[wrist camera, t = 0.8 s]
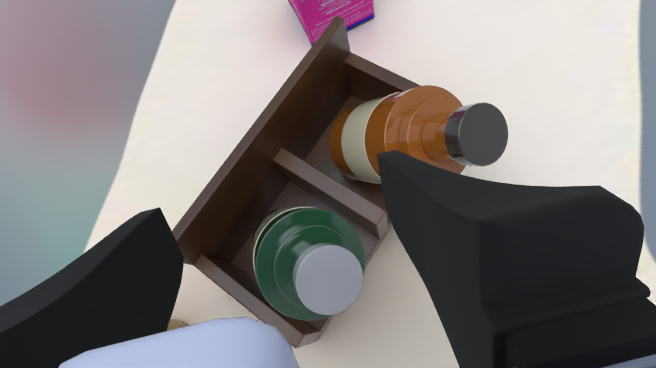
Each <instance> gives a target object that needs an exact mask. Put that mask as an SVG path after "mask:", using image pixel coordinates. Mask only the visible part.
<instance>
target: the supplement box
mask: <svg viewBox="0 0 656 368" xmlns="http://www.w3.org/2000/svg"><path fill="white" fill-rule="evenodd" d="M288 1H289V3H290V5H291V6H292V8H293V9H294V11H295V13H296V15H297V16H298V18H299V20H300V22H301V24H302V26H303V28H304V30H305V32H306V34H307V36H308V38H309V40H310V42H311V44H312V46H313V45H314V44H315V42H316V41H317V40H318V38H319V37H320V36H321V34H322V33H323V32H324V31H325V29H326V28H327V27H328V25H329V24H330V23H331V21H332V20H333V19H334V17H335V16H339V17H341V18H343V19H344V21H345V26H346V31H347V30H349V29H351V28H353V27H355V26H357V25H360V24H362V23H364V22H366V21H368V20H370V19H373V18H374V17H375V16H374V9H373V0H288Z"/></svg>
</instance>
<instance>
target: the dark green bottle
mask: <svg viewBox="0 0 656 368" xmlns="http://www.w3.org/2000/svg"><path fill="white" fill-rule="evenodd" d="M251 257H252V263H253V267H254V272H255V275H256V278H257V282H258V285H259V288H260V290H261V292H262V294H263V296H264V297H265V299H266V300H267V301H268V303H269V304H270V305H271V306H272V307H273V308H275V309H276V310H277V311H279V312H280V313H282V314H284V315H286V316H288V317H291V318H294V319H298V320H306V321H309V320H318V319H323V318H326V317H329V316H331V315H334V314H338V313H341V312H343V311H345V310H346V309H348V308H349V307H350V306H351V305H352V304H353V303H354V302H355V301H356V299H357V298H358V296H359V294H360V292H361V289H362V285H363V276H364V270H365V254H364V249H363V245H362V242H361V240H360V238H359V236H358V234H357V232H356V231H355V229H354V228H353V227H352V226H351V225H350V224H349V222H347V221H346V220H345V219H344V218H342V217H341V216H339V215H338V214H335V213H333V212H331V211H328V210H324V209H318V208H314V207H307V206H284V207H280V208H277V209H275V210H273V211H271V212H269V213H268V214H267V215H265V216H264V217H263V218H262V219H261V220H260V222H259V223H258V225H257V226H256V228H255V230H254V232H253V235H252V239H251Z"/></svg>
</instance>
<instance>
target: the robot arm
mask: <svg viewBox="0 0 656 368" xmlns="http://www.w3.org/2000/svg"><path fill="white" fill-rule="evenodd" d="M377 159H378V165H379V171H380V178H381V184H382V190H383V196H384V202H385V207H386V210H387V213H388V215H389V218H390V220H391V223H392V225H393V228H394V230H395V232H396V234H397V236H398V237H399V239H400V241H401V243H402V245H403V246H404V248H405V250H406V252H407V253H408V255H409V257H410V259H411V260H412V262H413V264H414V265H415V267H416V269H417V271H418V272H419V274H420V276H421V278H422V280H423V282H424V283H425V285H426V287H427V289H428V292H429V294H430V296H431V299H432V301H433V303H434V306H435V308H436V310H437V313H438V315H439V317H440V320H441V322H442V325H443V327H444V329H445V332H446V334H447V337H448V339H449V342H450V344H451V347H452V349H453V352H454V354H455V357H456V359H457V362H458V364H459V367H460V368H656V306H655V305H654V304H653V303H652V302H651V301H650V300H648V299H647V298H646V297H649V296H650V290H649V288H648V287H647V286H646V285H645V284H644V283H642V282H641V281H640V280H639V279H638V278H636V277H635V276H636V271H637V267H638V262H639V258H640V254H641V249H642V245H643V237H644V225H643V222H642V218H641V215H640V214H639V213H638V212H637V211H636V210H635V209H634V207H633V206H631V205H630V204H628V203H627V202H625V201H623V200H622V199H620V198H619V197H617V196H615V195H614V194H612V193H611V192H609V191H607V190H606V189H604V188H603V187H601V186H570V187H546V186H526V185H514V184H507V183H499V182H492V181H486V180H481V179H477V178H473V177H468V176H464V175H460V174H457V173H454V172H451V171H448V170H445V169H442V168H439V167H436V166H433V165H431V164H428V163H426V162H423V161H421V160H419V159H416V158H414V157H412V156H410V155H407V154H405V153H403V152H400V151H397V150H392V151H388V152H384V153H380V154H377ZM183 263H184V255H183V253H182V251H181V249H180V247H179V245H178V243H177V241H176V239H175V237H174V235H173V233H172V231H171V229H170V227H169V225H168V223H167V221H166V219H165V217H164V215H163V213H162V211H161V209H160V208H156V209H152V210H148V211H143V212H141V213H139V214H137V215H135V216H134V217H132V218H131V219H129V220H128V221H126V222H125V223H123V224H122V225H121V226H119V227H118V228H117V229H116V230H114V231H113V232H112V233H110V234H109V235H108V236H106V237H105V238H104V239H103V240H101V241H100V242H99V243H97V244H96V245H95V246H93V247H92V248H91V249H89V250H88V251H87V252H85V253H84V254H83V255H81V256H80V257H79V258H77V259H76V260H74V261H73V262H72V263H70V264H69V265H67V266H66V267H65V268H63V269H62V270H60V271H59V272H58V273H56V274H54V275H53V276H51V277H50V278H48V279H47V280H45V281H44V282H42V283H40V284H39V285H37V286H35V287H34V288H32V289H31V290H29V291H27V292H26V293H24V294H22V295H21V296H19V297H17V298H15V299H13V300H11V301H9V302H8V303H6V304H4V305H2V306H0V368H300V367H299V366H298V364H297V361H296V358H295V356H294V353H293V351H292V348H291V345H290V344H289V343H288V341H287V340H286V339H285V338H284V337H283V336H282V334H281V333H280V332H279V331H278V330H277V329H276V327H274V326H271V325H268V324H265V323H262V322H260V321H257V320H254V319H251V318H248V317H240V318H221V319H214V320H210V321H206V322H202V323H198V324H194V325H190V326H186V327H182V328H178V329H174V330H170V331H167V328H168V325H169V322H170V318H171V315H172V312H173V308H174V305H175V302H176V298H177V295H178V291H179V288H180V284H181V279H182V272H183Z"/></svg>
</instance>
